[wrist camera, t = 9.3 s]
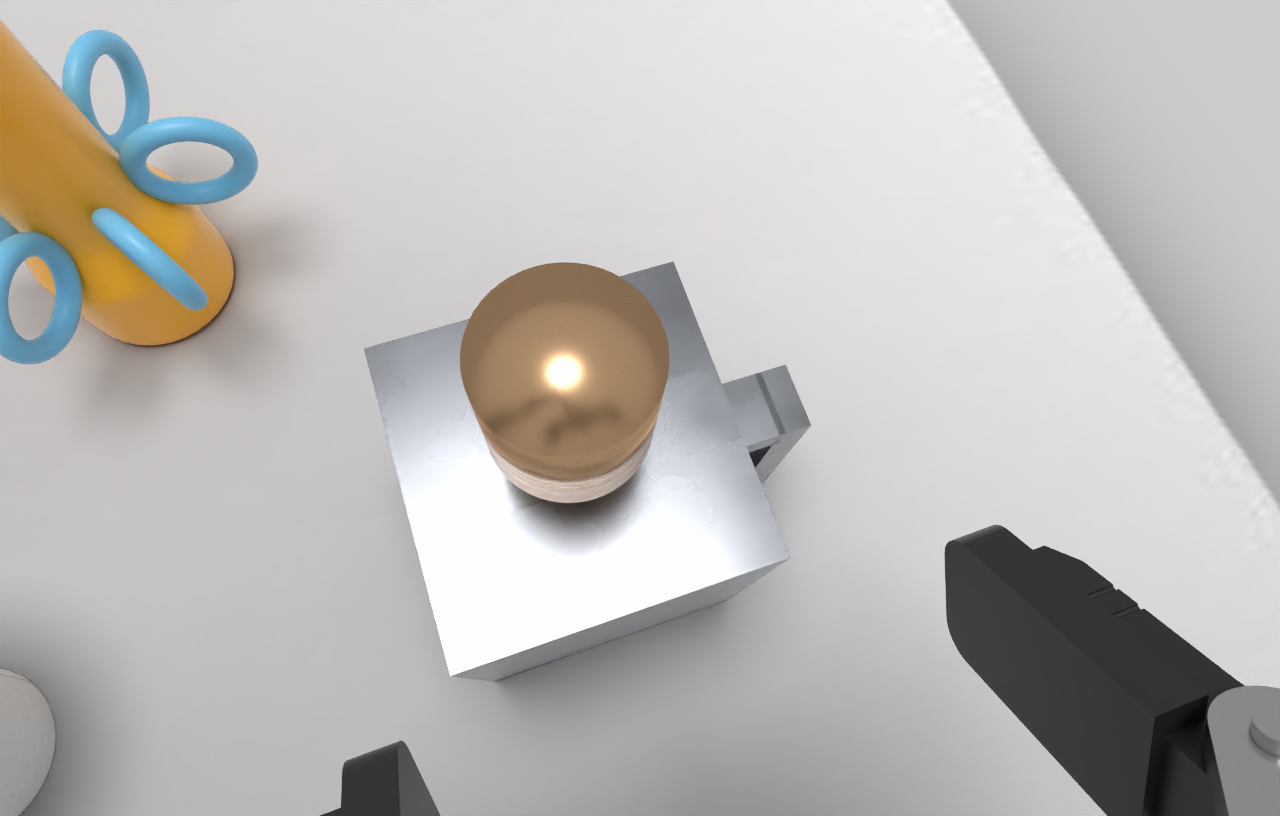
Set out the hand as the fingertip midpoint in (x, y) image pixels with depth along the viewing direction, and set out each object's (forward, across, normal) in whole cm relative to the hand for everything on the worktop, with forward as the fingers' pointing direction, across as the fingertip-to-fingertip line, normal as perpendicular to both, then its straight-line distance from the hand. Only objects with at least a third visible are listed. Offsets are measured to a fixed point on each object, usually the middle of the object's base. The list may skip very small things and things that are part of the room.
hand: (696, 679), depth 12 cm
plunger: (+17, 0, +8) cm, 19 cm away
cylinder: (+29, +13, -1) cm, 32 cm away
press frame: (+19, -1, +10) cm, 21 cm away
